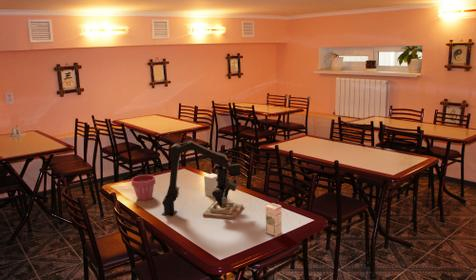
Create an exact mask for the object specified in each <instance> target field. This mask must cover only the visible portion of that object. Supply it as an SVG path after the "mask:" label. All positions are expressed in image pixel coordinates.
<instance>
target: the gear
mask: <svg viewBox="0 0 476 280" xmlns="http://www.w3.org/2000/svg"><path fill="white" fill-rule="evenodd" d="M227 202H228V197H227V198H226V197H223V199H222V206H219V205H218V206H216V209H224V210H230V209H231V207H230V205H227Z"/></svg>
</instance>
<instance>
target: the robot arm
mask: <svg viewBox="0 0 476 280" xmlns="http://www.w3.org/2000/svg"><path fill="white" fill-rule="evenodd" d="M190 150H192V151H193V152H196V153H198V154H200V155H202V156H205V157H206V158H209V159H210V160H211V161H212V162H213V163H215V166H213V170H215V171H216V175H217V179H216V181H217V186H216V188H219V189H215V190H214V191H213V192H212V196H213V197H212V198H214V199H215V201H216V202H218V204H219V206H222V199H223V197H226V198H227V199H228V196H229V195H228V194H229V192H230V191H232V192H236V191H237V188H238V186H239V182H238V180H237V179H233V180H230V177H241V176H242V175H241V173H242V172H241V164H240V163H234V164H233V163H231V162H230V161H229V159H228V157H227V155H226V153H223V152H218V151H214V150H211V149H209V148H207V147H205V146H203V145H201V144H199V143H197V142H195V141H194V140H190V141H186V142H182V143H174V144H173V145H172V146H171V148H170V150H169V151H170V159H171V167H170V175H169V176H170V177H169V185H168V188H167V192H166V195H165V196H164V197H163V200H162V205H163V211H162V213H161V215H162V216H172V217H173V216H174V215H175V214H176V213H177V212H178V211H177V210H175V202H176V201H177V198H179V195H180V192H179V190H180V186H178V185H177V184H178V183H177V182H178V173H179V161H180V158H181V155H182V154H183V153H185V152H187V151H190ZM228 175H229V176H230V177H228Z"/></svg>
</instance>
